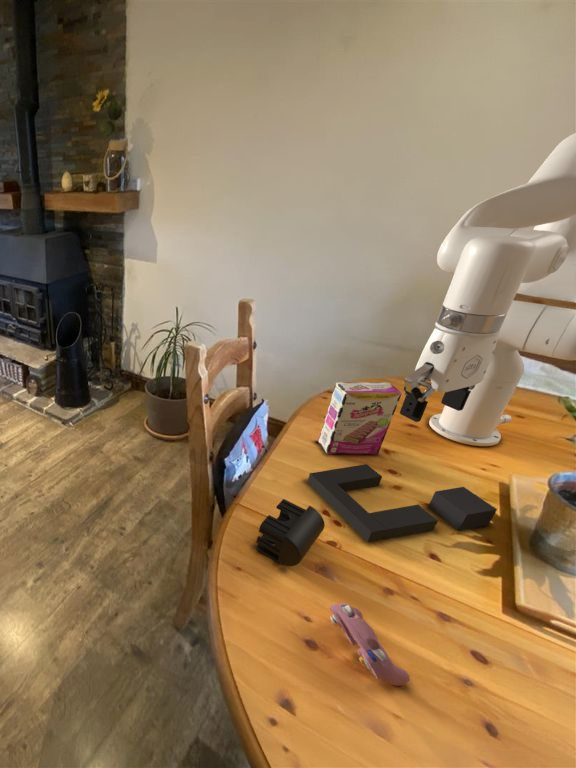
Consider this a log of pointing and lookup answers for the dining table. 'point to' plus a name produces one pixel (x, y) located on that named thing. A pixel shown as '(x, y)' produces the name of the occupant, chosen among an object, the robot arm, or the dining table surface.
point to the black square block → (462, 508)
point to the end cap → (289, 533)
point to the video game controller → (367, 644)
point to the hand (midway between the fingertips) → (430, 412)
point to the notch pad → (364, 523)
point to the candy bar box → (358, 417)
